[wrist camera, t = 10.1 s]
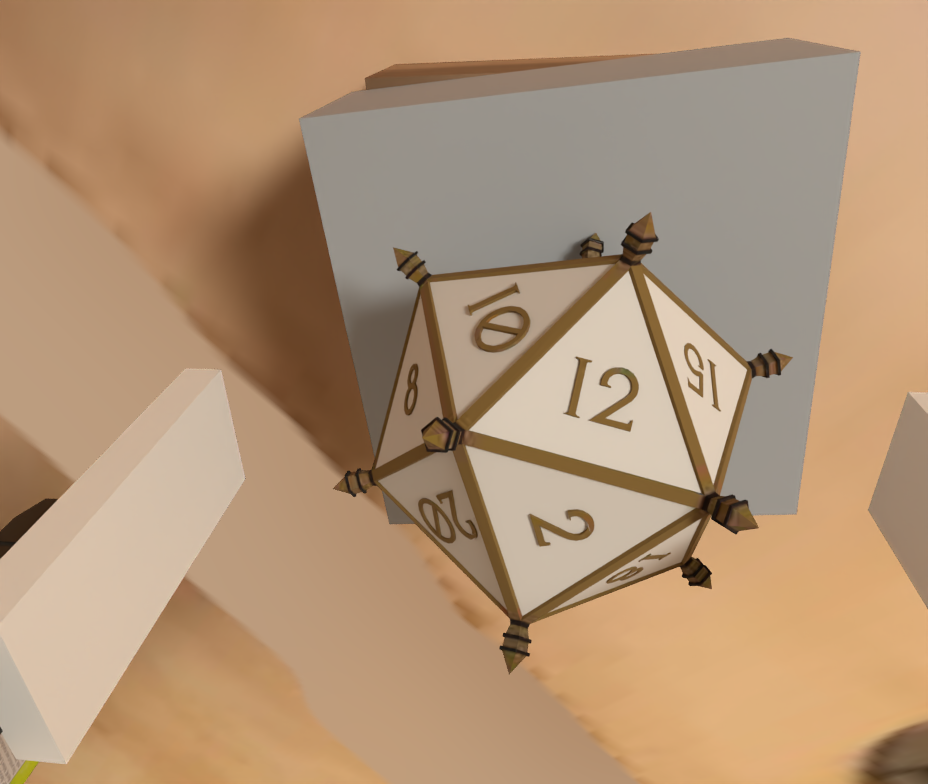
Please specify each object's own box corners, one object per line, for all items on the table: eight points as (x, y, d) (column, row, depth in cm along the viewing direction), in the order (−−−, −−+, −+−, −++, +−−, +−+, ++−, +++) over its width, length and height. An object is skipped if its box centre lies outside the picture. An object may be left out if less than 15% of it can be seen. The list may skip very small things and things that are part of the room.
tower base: (398, 63, 24) (364, 78, 20) (754, 48, 23) (801, 61, 19) (423, 366, 30) (401, 428, 26) (708, 370, 29) (735, 436, 25)
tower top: (352, 91, 20) (298, 118, 16) (788, 37, 18) (860, 51, 14) (416, 436, 26) (389, 524, 22) (753, 421, 24) (796, 514, 20)
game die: (563, 349, 22) (496, 679, 18) (349, 193, 17) (198, 595, 14) (869, 275, 16) (864, 763, 12) (662, -8, 11) (543, 661, 7)
